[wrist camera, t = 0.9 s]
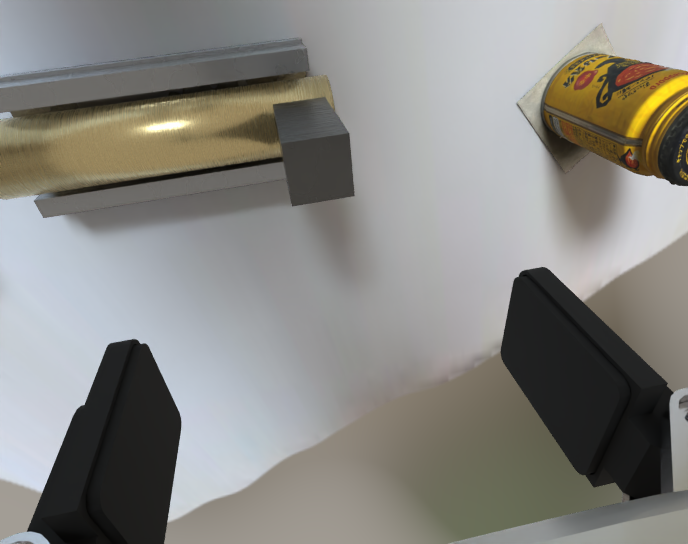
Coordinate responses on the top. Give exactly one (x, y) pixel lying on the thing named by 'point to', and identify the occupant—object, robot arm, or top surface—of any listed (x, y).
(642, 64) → the condiment
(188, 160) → the bolt
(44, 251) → the top surface
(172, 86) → the channel
